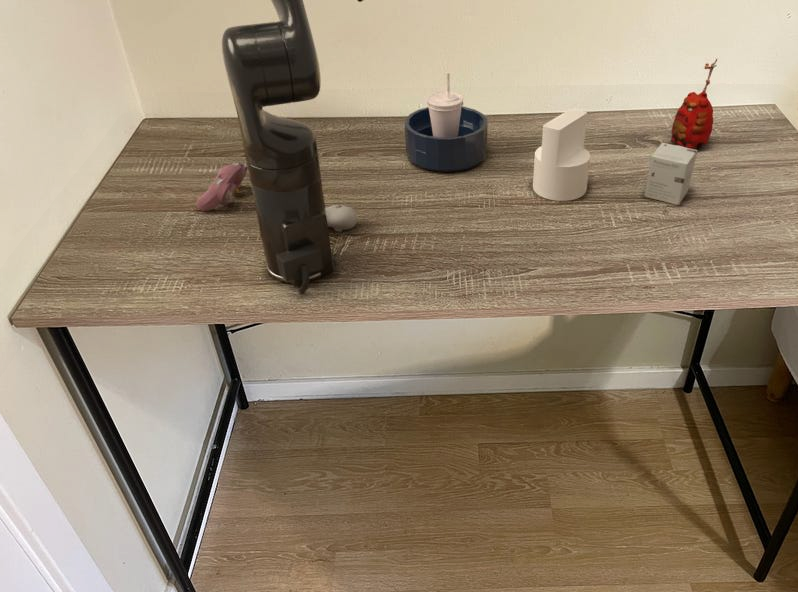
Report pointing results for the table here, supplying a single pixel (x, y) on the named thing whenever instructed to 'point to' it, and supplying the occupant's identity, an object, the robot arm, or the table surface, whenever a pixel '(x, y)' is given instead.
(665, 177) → the product carton
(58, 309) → the table surface
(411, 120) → the bowl
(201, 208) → the video game controller
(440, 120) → the smoothie
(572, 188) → the base with upright slab
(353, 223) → the white head bust
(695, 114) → the red clay folk toy
